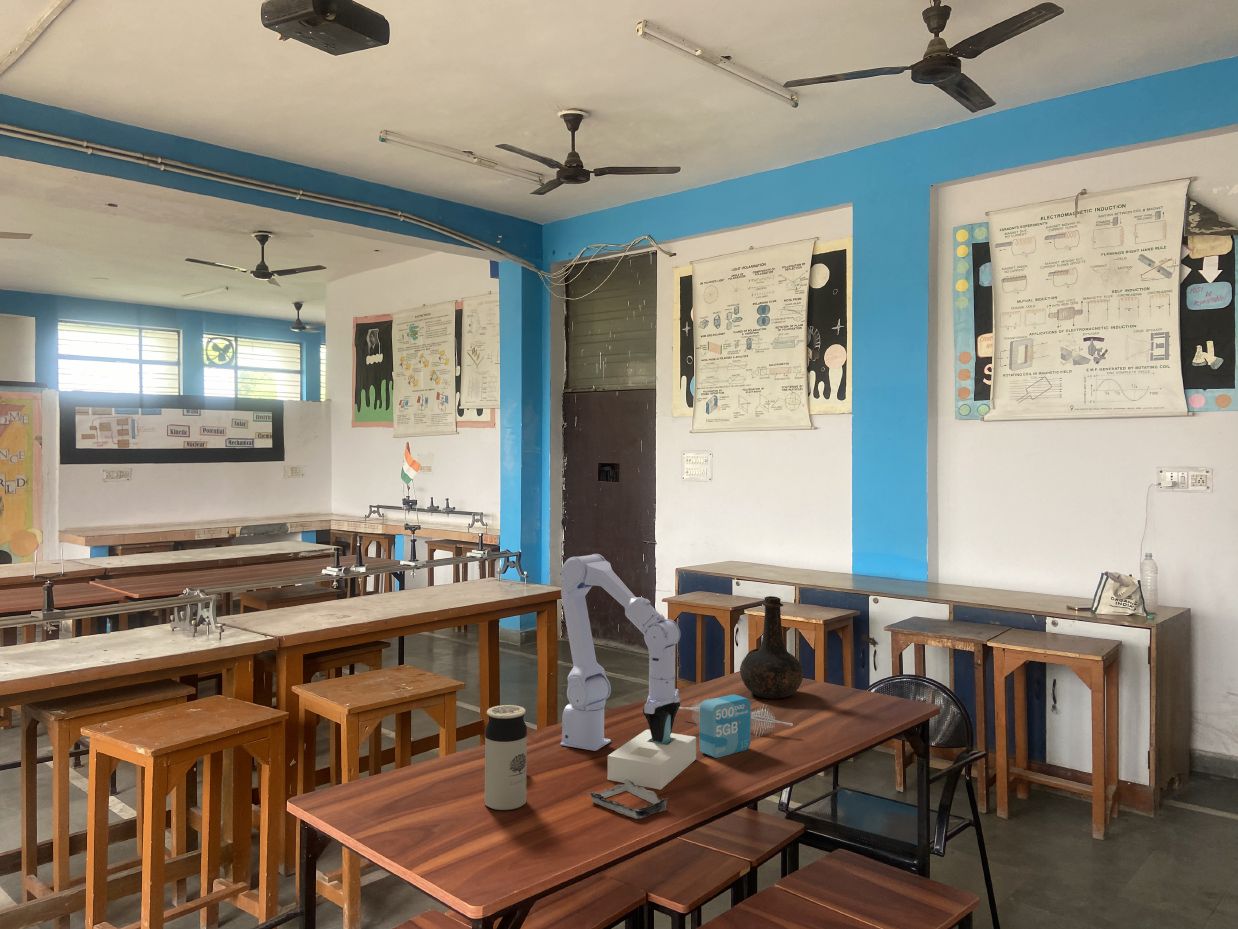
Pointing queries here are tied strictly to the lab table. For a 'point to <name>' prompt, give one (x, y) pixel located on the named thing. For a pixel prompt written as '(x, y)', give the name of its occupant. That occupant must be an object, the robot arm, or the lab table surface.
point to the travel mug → (505, 757)
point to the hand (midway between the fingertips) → (661, 738)
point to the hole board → (651, 760)
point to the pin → (666, 732)
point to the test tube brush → (751, 717)
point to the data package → (725, 725)
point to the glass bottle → (771, 659)
